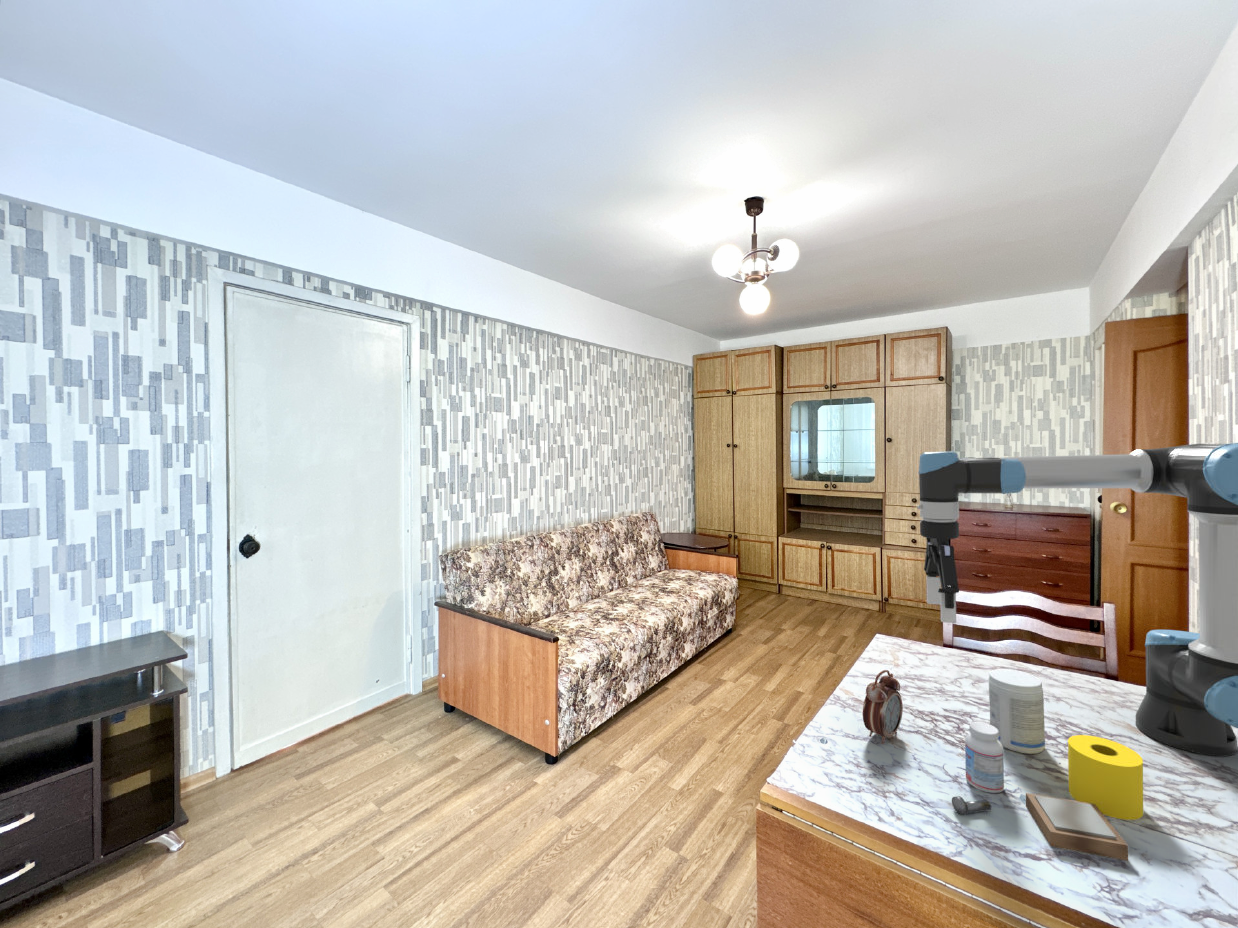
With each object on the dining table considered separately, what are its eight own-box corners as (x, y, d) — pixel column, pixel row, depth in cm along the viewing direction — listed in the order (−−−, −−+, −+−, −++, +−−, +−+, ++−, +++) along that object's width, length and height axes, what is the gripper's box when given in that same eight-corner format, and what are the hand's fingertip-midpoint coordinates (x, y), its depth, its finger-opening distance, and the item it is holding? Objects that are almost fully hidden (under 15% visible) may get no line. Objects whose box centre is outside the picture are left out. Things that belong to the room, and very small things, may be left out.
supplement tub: (1052, 745, 112) (1051, 678, 112) (1035, 761, 107) (1034, 691, 107) (1000, 726, 120) (999, 664, 120) (981, 740, 115) (980, 675, 115)
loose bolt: (981, 804, 95) (981, 790, 95) (993, 814, 92) (992, 799, 92) (951, 807, 94) (951, 793, 94) (962, 817, 92) (962, 802, 92)
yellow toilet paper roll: (1073, 776, 102) (1072, 729, 102) (1145, 800, 94) (1144, 750, 94) (1064, 799, 95) (1063, 749, 95) (1141, 828, 88) (1140, 774, 88)
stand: (1094, 817, 91) (1094, 801, 90) (1128, 860, 81) (1128, 842, 81) (1025, 806, 94) (1025, 790, 94) (1050, 846, 85) (1050, 828, 84)
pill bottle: (967, 770, 105) (966, 716, 104) (1004, 782, 101) (1004, 725, 100) (963, 786, 100) (963, 729, 100) (1003, 798, 96) (1002, 739, 96)
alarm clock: (882, 749, 113) (881, 681, 112) (861, 740, 117) (859, 674, 116) (905, 731, 119) (903, 667, 119) (883, 723, 123) (882, 661, 123)
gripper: (909, 512, 130) (911, 596, 130) (932, 527, 106) (934, 629, 107) (944, 512, 127) (945, 598, 128) (975, 528, 104) (977, 632, 104)
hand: (940, 612), depth 117 cm, fingers open, 13 cm apart
